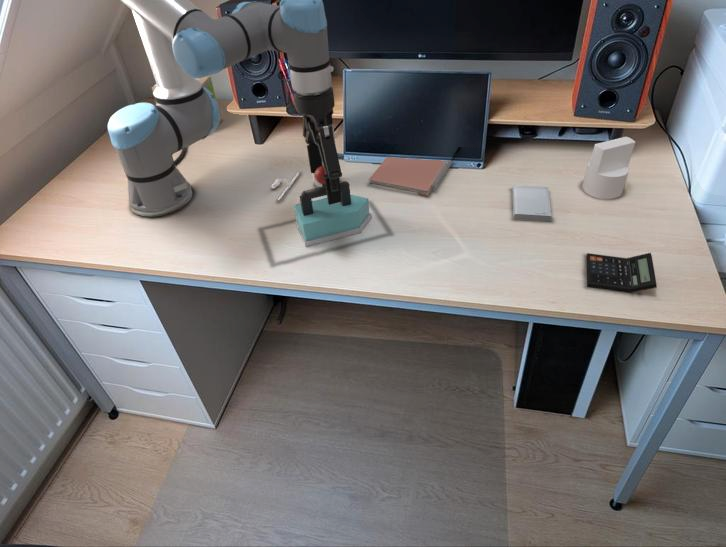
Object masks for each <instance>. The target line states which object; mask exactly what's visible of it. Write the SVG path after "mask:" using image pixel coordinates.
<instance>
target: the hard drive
mask: <svg viewBox="0 0 726 547" xmlns="http://www.w3.org/2000/svg"><path fill="white" fill-rule="evenodd" d="M511 191H512V214H513V216H512V217H513V220H516V221H533V222H546V223H547V222H548V223H549V222H552V219H553V214H552V208H551V207H552V206H551V200H550V191H549V187H548V186H546V185H528V184H527V185H525V184H513V185H512V189H511Z"/></svg>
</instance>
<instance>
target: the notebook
mask: <svg viewBox="0 0 726 547" xmlns="http://www.w3.org/2000/svg"><path fill="white" fill-rule="evenodd" d="M454 161H455V160H453V161H450V160H448V161H441V160H426V159H425V160H423V159H422V160H421V159H406V158H395V157H394V158H392V157H388V156H386V157H385V159H384V160H383V161H382V163H381V164H380V165H379V166H378V167H377V169H375V171H374V172H373V173H372V175H371V176H369V178H368V181H369V182H370V184H372V185H373V184H374V185H379V186H384V187H390V188H394V189H400V190H404V191H410V192H414V193H417V194H418V195H421V196H425V197H426V196H427V197H428V196H429V195H430V194H431V193H432V192H433V193H434V192H435V191H436V190H437V188H438V186H439V185H440V184H441V182H442V180H443V178H444V177H445V176H446V174H447V172H448V171H449V169H450V167H451V166H452V165H453V163H454ZM447 162H448V163H447Z"/></svg>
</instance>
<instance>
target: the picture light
mask: <svg viewBox="0 0 726 547" xmlns="http://www.w3.org/2000/svg"><path fill="white" fill-rule="evenodd" d="M299 176H300V172H299V171H298V172H297V173H296V174H295V175H294V176H293V178H292V179H291V181H290V182H289V181H288V180H287V179H285V178H281V179H280V178H276V179H275V180H274V182H273V183H272V184H271V186H270V188H271V189H272V190H273V189H274V190H276V189H277V187H279V186H280V185H281V182H282V181H283V183H285V184H286V188H285V189H284V190H283V191H282V193H281V195H279V197H278V199H277V200H278V201H280V200H281V199H282V198H283V196H284V195H285V193H286V192H287V191H289V189H290V188H291V186H292V185H293V184H294V183H295V181H296V180H297V178H298V177H299Z"/></svg>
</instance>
